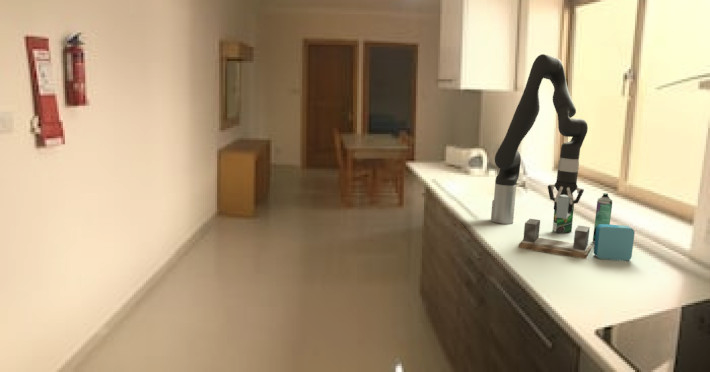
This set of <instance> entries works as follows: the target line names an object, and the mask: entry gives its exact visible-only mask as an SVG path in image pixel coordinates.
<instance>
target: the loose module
mask: <svg viewBox="0 0 710 372" xmlns="http://www.w3.org/2000/svg"><path fill="white" fill-rule="evenodd" d="M569 200H570V198H568V196H567V195H561V196H560V197H558V200H557V211H556V217H557V218H564V219H567V218H568V216H569V213H568V208H569V204H570V202H569Z"/></svg>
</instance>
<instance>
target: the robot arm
mask: <svg viewBox="0 0 710 372" xmlns="http://www.w3.org/2000/svg"><path fill="white" fill-rule="evenodd" d="M543 79H546V80H549V81H550V83H551V84H552V86H553V90H554V91H553V93H552V103H553V107H554V109H555V110H554V111H555V112H556V114H557V123H558V132H559V133H560V134H561V135H562V136H563V137H566V138H567V137H571V139H570V141H567V142H563V143H562V144H561V147H560V154H559V160H558V165H557V174H556V181H555V183H554V184H548V185H547V190H548V191H547V192H548V195H549V199H550V200H551V201H553V203H554V204H553V210H555V211H557V200H558V197H560V196H561V195H566V196H568V198H570V200H569V202H570V204H569V208H568V213H570V212H572V210H573V204H574V205H575V204H578V203H579V202H580V200H581V198H582V196H583V194H584V192H585V190H584V188H580V187H579V186H578V185H577V184H578V175H579V174H578V173H579V169H580V168H579V166H580V154H581V148H582V146H583V144H584V141H585V138H586V136H587V134H588V123H587V121H586V120H585V119H582V118H573V117H574V116H575V115H576V113H577V110H576V106H575V104H574V102H573V99H572V97H571V94H570V91H569V88H568V87H569V86H568V84H567V83H568V82H567V79H566V73H565V69H564V65H563V62H562V60H561V59H560V58H557V57H555V56H551V55H547V54H544V53H543V54H541V53H540V54H539V55H538V56H537V57H536V58H535V60H534V61H533V63H532V65H531V69H530V71H529V75H528V78H527V81H526V84H525V87H524V89H523V92H522V95H521V97H520V100H519V102H518V104H517V106H516V109H515V111H514V113H513V117H512V118H511V122H510V123H509V126H508V127H507V128H508V129H507V132H506V134H505V136H504V139H502V141H501V144H500V146H499V148H498V149H497V151H496V153H495V156H494V164H495V165H496V167H497V168H498V169H499V171H498V174H497V176H495V180H494V183H495V184H494V193H493V200H492V203H491V216H490V222H493V223H497V224H504V225H506V224H507V225H510V224H513V223H514V218H515V205H516V192H517V183H518V180H519V177H520V171H521V163H522V161H521V160H522V159H521V158H522V156H521V153H520V151H518V149H519V147H520V145H521V144H522V141H523V140H524V138H525V137H526V136H527V134H528V133H529V132H530V130H531V129H532V127H533V126H534V124H535V122H536V120H537V117H538V115H539V112H540V99H539V98H540V97H539V96H540V95H539V93H540V92H539V91H540V86H541V84H542V81H543ZM554 190H556V191H557V194H556V195H554ZM575 191H577V196H576V198H575V199H574V196H573V195H574V194H573V193H575ZM573 211H574V210H573Z"/></svg>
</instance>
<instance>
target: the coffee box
mask: <svg viewBox="0 0 710 372" xmlns="http://www.w3.org/2000/svg"><path fill="white" fill-rule="evenodd" d="M574 207H575V204H573V210H572V212H570V213H569V216H568V218H567V219H564V218H557V217H556V211H555V210H554V209H553V210H554V211H553V222H552V232H553V233H556V234H559V233H572V232H573V231H572V230H573V218H574Z"/></svg>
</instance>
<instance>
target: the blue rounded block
mask: <svg viewBox="0 0 710 372" xmlns="http://www.w3.org/2000/svg"><path fill="white" fill-rule="evenodd" d="M635 234H636V233H635V230H634V229H633V228H632V227H630V226H629V225H623V224H621V225H620V224H610V225H609V224H599V225H598V226H597V227H596V235H595V243H594V245H593V254H594V255H595V256H596V257H597V258H598V259H600V260H610V261H611V260H612V261H623V262H624V261H630V260H631V259H632V257H633V248H634V243H635V242H634V240H635Z"/></svg>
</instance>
